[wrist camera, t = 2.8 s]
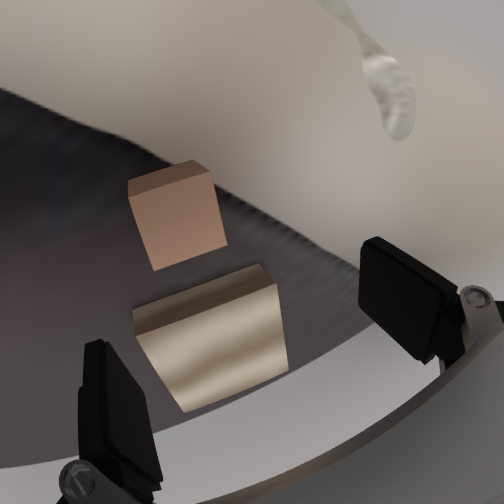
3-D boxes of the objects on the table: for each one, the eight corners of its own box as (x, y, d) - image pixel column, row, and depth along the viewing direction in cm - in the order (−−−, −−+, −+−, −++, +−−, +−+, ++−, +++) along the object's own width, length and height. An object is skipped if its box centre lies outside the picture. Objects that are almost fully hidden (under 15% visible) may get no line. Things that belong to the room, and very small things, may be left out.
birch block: (131, 306, 24) (135, 336, 21) (256, 261, 28) (276, 283, 24) (175, 385, 31) (184, 412, 27) (272, 347, 34) (288, 370, 30)
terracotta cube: (127, 180, 20) (128, 197, 16) (192, 159, 21) (210, 171, 17) (147, 240, 22) (154, 271, 18) (207, 219, 24) (227, 245, 20)
